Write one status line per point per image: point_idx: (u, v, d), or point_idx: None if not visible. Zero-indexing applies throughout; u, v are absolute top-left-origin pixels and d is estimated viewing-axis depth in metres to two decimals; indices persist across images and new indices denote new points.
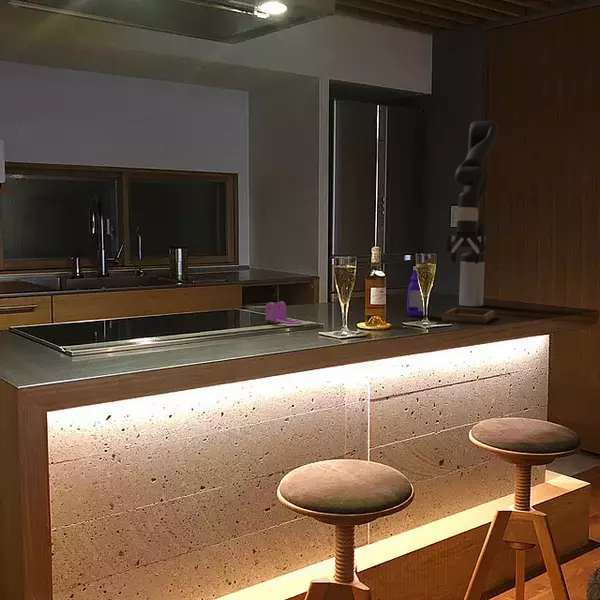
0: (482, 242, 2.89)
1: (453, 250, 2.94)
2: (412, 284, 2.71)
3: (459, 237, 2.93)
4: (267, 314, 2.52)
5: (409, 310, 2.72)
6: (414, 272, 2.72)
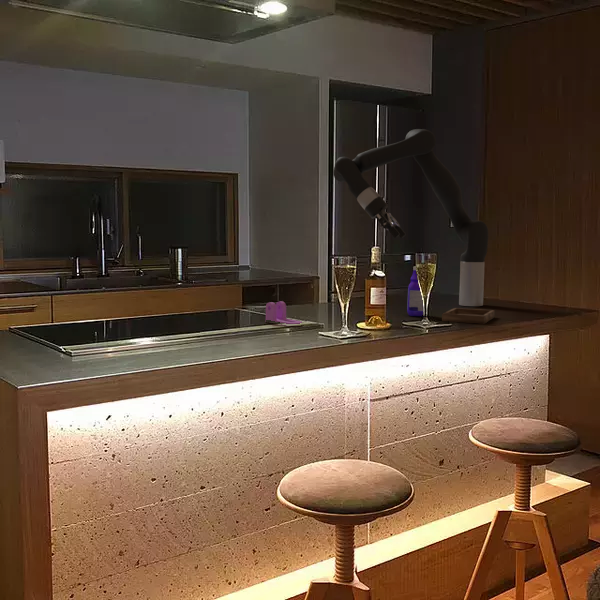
0: None
1: None
2: (412, 284, 2.71)
3: None
4: (267, 314, 2.52)
5: (409, 310, 2.72)
6: (414, 272, 2.72)
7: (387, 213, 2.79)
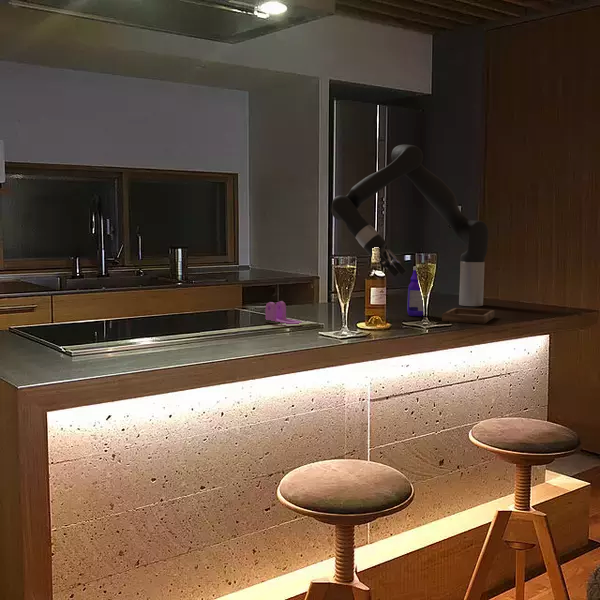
0: None
1: None
2: (412, 284, 2.71)
3: None
4: (267, 314, 2.52)
5: (409, 310, 2.72)
6: (414, 272, 2.72)
7: (386, 251, 2.75)
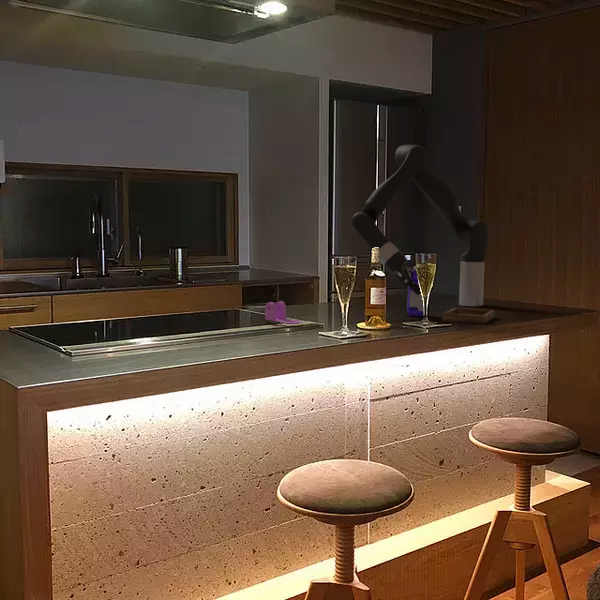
0: None
1: None
2: None
3: None
4: (267, 314, 2.52)
5: (409, 310, 2.72)
6: (414, 272, 2.72)
7: (407, 268, 2.73)
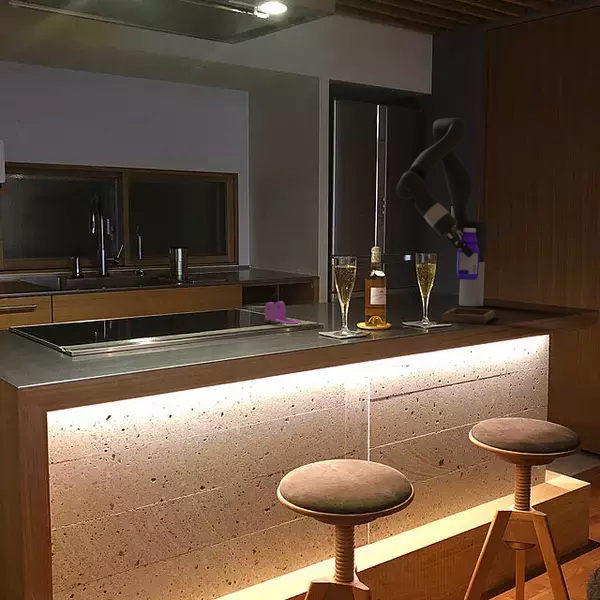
0: None
1: None
2: None
3: None
4: (267, 314, 2.52)
5: (459, 273, 2.64)
6: (464, 234, 2.63)
7: (457, 230, 2.64)
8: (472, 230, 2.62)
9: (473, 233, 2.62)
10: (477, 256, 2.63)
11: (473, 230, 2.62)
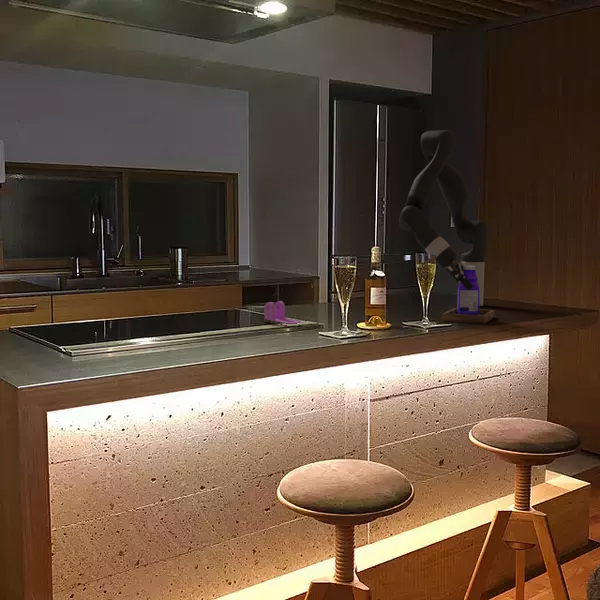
0: None
1: None
2: (462, 284, 2.64)
3: None
4: (266, 314, 2.53)
5: (460, 310, 2.65)
6: (464, 271, 2.65)
7: (458, 264, 2.65)
8: (472, 268, 2.64)
9: (473, 270, 2.64)
10: (477, 293, 2.64)
11: (473, 267, 2.64)
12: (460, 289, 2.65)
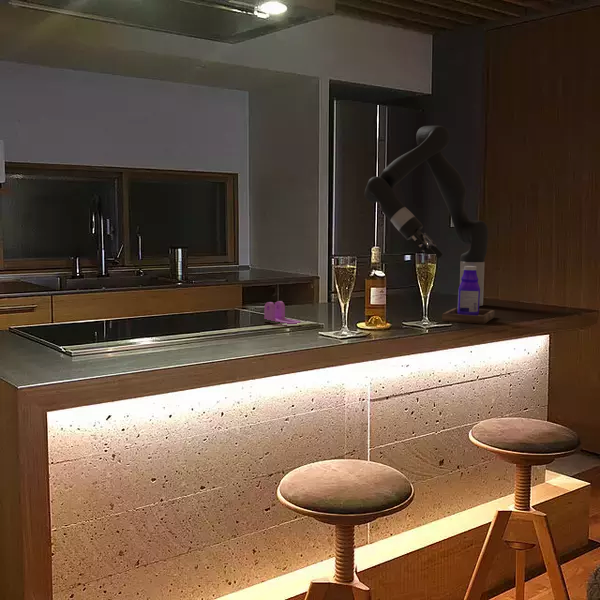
0: None
1: None
2: (463, 284, 2.64)
3: None
4: (266, 314, 2.53)
5: (460, 311, 2.65)
6: (465, 272, 2.64)
7: (423, 234, 2.69)
8: (473, 268, 2.63)
9: (474, 271, 2.63)
10: (478, 294, 2.64)
11: (474, 268, 2.63)
12: (461, 289, 2.64)
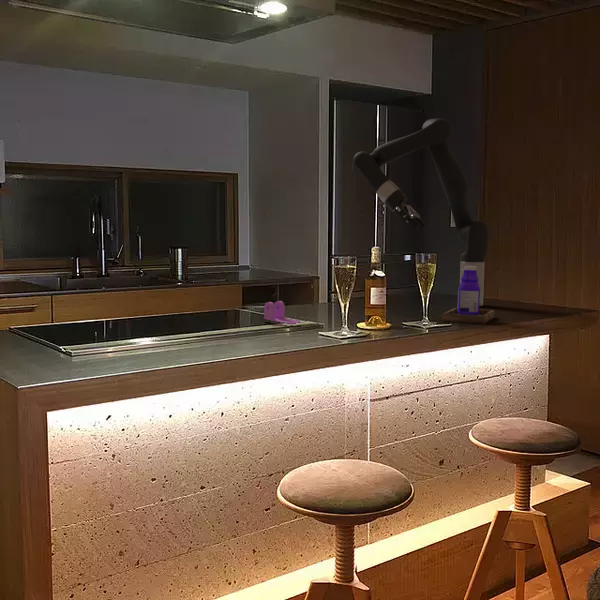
0: None
1: None
2: (463, 284, 2.64)
3: None
4: (266, 314, 2.53)
5: (460, 311, 2.65)
6: (465, 272, 2.64)
7: None
8: (473, 268, 2.63)
9: (474, 271, 2.63)
10: (478, 294, 2.64)
11: (474, 268, 2.63)
12: (461, 289, 2.64)
